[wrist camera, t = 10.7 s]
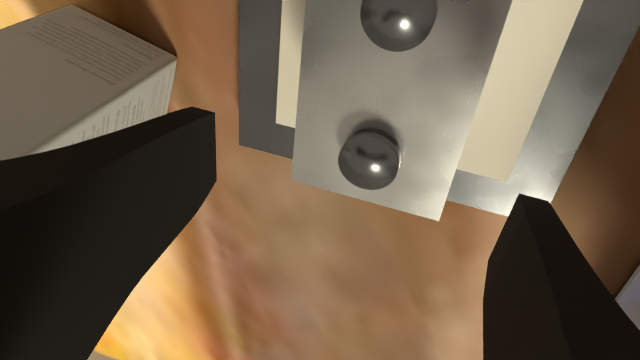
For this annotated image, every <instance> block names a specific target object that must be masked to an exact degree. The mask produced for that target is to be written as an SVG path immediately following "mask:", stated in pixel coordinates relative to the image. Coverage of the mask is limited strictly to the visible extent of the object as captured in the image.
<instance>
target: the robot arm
mask: <svg viewBox="0 0 640 360" xmlns="http://www.w3.org/2000/svg"><path fill="white" fill-rule="evenodd" d="M216 180H217V178H216V138H215V113H214V112H210V111H207V110H203V109H199V108H195V107H189V108H185V109H181V110H178V111H174V112H171V113H168V114H165V115H162V116H159V117H156V118H153V119H150V120H147V121H145V122H142V123H139V124H136V125H133V126H130V127H127V128H124V129H121V130H118V131H115V132H112V133H109V134H105V135H102V136H99V137H96V138H92V139H89V140H86V141H82V142H79V143H76V144H72V145H69V146H65V147H61V148H57V149H53V150H49V151H45V152H41V153H36V154H31V155H27V156H22V157H17V158H12V159H6V160H0V360H87V359H88V357H89V356H90V354H91V353H92V351H93V350H94V348H95V346H96V345H97V343H98V342H99V340H100V339H101V337H102V335H103V334H104V332H105V331H106V329H107V327H108V326H109V324H110V323H111V321H112V320H113V318H114V317H115V315H116V314H117V312H118V311H119V309H120V308H121V306H122V305H123V303H124V302H125V300H126V299H127V297H128V296H129V294H130V293H131V292H132V290H133V289H134V287H135V286H136V285H137V284H138V282H139V281H140V280H141V278H142V277H143V276H144V275H145V273H146V272H147V271H148V270H149V269H150V267H151V266H152V265H153V264H154V263H155V262H156V260H157V259H158V258H159V257H160V256H161V254H162V253H163V252H164V251H165V250H166V249H167V247H168V246H169V245H170V244H171V243H172V241H173V240H174V239H175V238H176V237H177V236H178V234H179V233H180V232H181V231H182V230H183V228H184V227H185V226H186V225H187V224H188V222H189V221H190V220H191V219H192V218H193V216H194V215H195V214H196V213H197V211H198V210H199V208H200V207H201V205H202V204H203V202H204V200H205V199H206V197H207V196H208V194H209V192H210V191H211V189H212V187H213V185H214V184H215V182H216ZM483 360H640V265H639V266H638V268H637V269H636V270H635V272H634V273H633V275H632V276H631V277H630V279H629V280H628V281H627V283H626V284H625V286H624V287H623V288H622V290H621V291H620V293H619V294H618V295H617V297H616V298H615V299H614V298H613V296H612V295H611V294H610V293H609V291H608V290H607V289H606V287H605V286H604V285H603V283H602V282H601V280H600V279H599V278H598V276H597V275H596V273H595V272H594V271H593V269H592V268H591V266H590V265H589V263H588V262H587V260H586V259H585V257H584V256H583V254H582V253H581V251H580V250H579V248H578V247H577V245H576V244H575V242H574V240H573V239H572V237H571V236H570V234H569V233H568V231H567V229H566V228H565V226H564V225H563V223H562V221H561V220H560V218H559V217H558V215H557V213H556V212H555V210H554V209H553V207H552V206H551V204H550V203H549V201H546V200H542V199H539V198H535V197H531V196H527V195H523V194H520V193H519V194H518V196H517V199H516V201H515V203H514V205H513V207H512V210H511V212H510V214H509V216H508V218H507V221H506V223H505V225H504V227H503V229H502V231H501V234H500V236H499V238H498V240H497V242H496V245H495V247H494V249H493V251H492V253H491V256H490V258H489V260H488V267H487V274H486V281H485V289H484V297H483Z"/></svg>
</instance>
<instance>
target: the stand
mask: <svg viewBox="0 0 640 360" xmlns="http://www.w3.org/2000/svg"><path fill="white" fill-rule="evenodd" d="M305 2H306V0H239V145H242V146H246V147H250V148H253V149H257V150H261V151H265V152H268V153H272V154H276V155H280V156H283V157H287V158H291V159H293V150H294V137H295V125H296V113H297V101H298V88H299V76H300V64H301V51H302V39H303V27H304V15H305ZM639 26H640V0H512V3H511V6H510V9H509V12H508V15H507V18H506V21H505V24H504V27H503V30H502V33H501V36H500V39H499V42H498V45H497V48H496V51H495V54H494V57H493V60H492V63H491V66H490V69H489V72H488V75H487V78H486V81H485V84H484V87H483V90H482V93H481V96H480V99H479V102H478V105H477V108H476V111H475V114H474V117H473V120H472V123H471V126H470V129H469V132H468V135H467V138H466V141H465V144H464V147H463V150H462V153H461V156H460V159H459V162H458V165H457V168H456V171H455V174H454V177H453V180H452V183H451V186H450V189H449V192H448V195H447V198H446V200H448V201H452V202H456V203H459V204H463V205H467V206H470V207H474V208H478V209H482V210H485V211H489V212H493V213H497V214H500V215H504V216H509V214H510V212H511V210H512V207H513V205H514V203H515V201H516V199H517V196H518V194H519V193H520V194H523V195H527V196H531V197H535V198H539V199H542V200H546V201H549V203H551V201H552V199H553V197H554V195H555V193H556V191H557V189H558V187H559V185H560V183H561V181H562V179H563V177H564V175H565V173H566V171H567V169H568V167H569V165H570V163H571V161H572V159H573V157H574V155H575V153H576V151H577V149H578V147H579V145H580V143H581V141H582V139H583V137H584V135H585V133H586V131H587V129H588V127H589V125H590V123H591V121H592V119H593V117H594V115H595V113H596V111H597V109H598V107H599V105H600V103H601V101H602V100H603V98H604V96H605V94H606V92H607V90H608V88H609V86H610V84H611V82H612V80H613V78H614V76H615V74H616V72H617V70H618V68H619V66H620V64H621V62H622V60H623V58H624V56H625V54H626V52H627V50H628V48H629V46H630V44H631V42H632V40H633V38H634V36H635V34H636V32H637V30H638V28H639Z"/></svg>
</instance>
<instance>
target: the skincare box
mask: <svg viewBox="0 0 640 360" xmlns="http://www.w3.org/2000/svg"><path fill="white" fill-rule="evenodd" d="M176 63H177V58H176V56H174V55H172V54H170V53H168V52H166V51H164V50H162V49H160V48H158V47H156V46H154V45H152V44H150V43H148V42H146V41H144V40H142V39H140V38H138V37H136V36H134V35H132V34H130V33H128V32H126V31H124V30H122V29H120V28H118V27H116V26H114V25H112V24H110V23H108V22H106V21H104V20H102V19H100V18H98V17H96V16H94V15H92V14H90V13H88V12H86V11H84V10H82V9H80V8H78V7H76V6H74V5H67V6H63V7H61V8H58V9H55V10H52V11H49V12H47V13H44V14H42V15H38V16H36V17H33V18H30V19H27V20H25V21H22V22H19V23H16V24H14V25H11V26H8V27H5V28H3V29H0V160H6V159H12V158H17V157H22V156H27V155H31V154H36V153H41V152H45V151H49V150H53V149H57V148H61V147H65V146H69V145H72V144H76V143H79V142H82V141H86V140H89V139H92V138H96V137H99V136H102V135H105V134H109V133H112V132H115V131H118V130H121V129H124V128H127V127H130V126H133V125H136V124H139V123H142V122H145V121H147V120H150V119H153V118H156V117H159V116H162V115H165V114H167V111H168V107H169V102H170V97H171V91H172V86H173V82H174V75H175V70H176Z"/></svg>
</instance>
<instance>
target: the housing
mask: <svg viewBox="0 0 640 360" xmlns="http://www.w3.org/2000/svg"><path fill="white" fill-rule="evenodd" d="M511 3H512V0H306V2H305V15H304V27H303V39H302V51H301V64H300V76H299V88H298V101H297V113H296V125H295V137H294V150H293V162H292V174H291V180H292V181H295V182H299V183H303V184H306V185H310V186H314V187H317V188H321V189H324V190H328V191H332V192H335V193H339V194H343V195H346V196H350V197H353V198H357V199H361V200H364V201H368V202H372V203H375V204H379V205H382V206H386V207H390V208H393V209H397V210H401V211H404V212H408V213H411V214H415V215H419V216H422V217H426V218H430V219H433V220H437V221H439V219H440V216H441V213H442V210H443V207H444V204H445V201H446V198H447V195H448V192H449V189H450V186H451V183H452V180H453V177H454V174H455V171H456V168H457V165H458V162H459V159H460V156H461V153H462V150H463V147H464V144H465V141H466V138H467V135H468V132H469V129H470V126H471V123H472V120H473V117H474V114H475V111H476V108H477V105H478V102H479V99H480V96H481V93H482V90H483V87H484V84H485V81H486V78H487V75H488V72H489V69H490V66H491V63H492V60H493V57H494V54H495V51H496V48H497V45H498V42H499V39H500V36H501V33H502V30H503V27H504V24H505V21H506V18H507V15H508V12H509V9H510V6H511Z"/></svg>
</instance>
